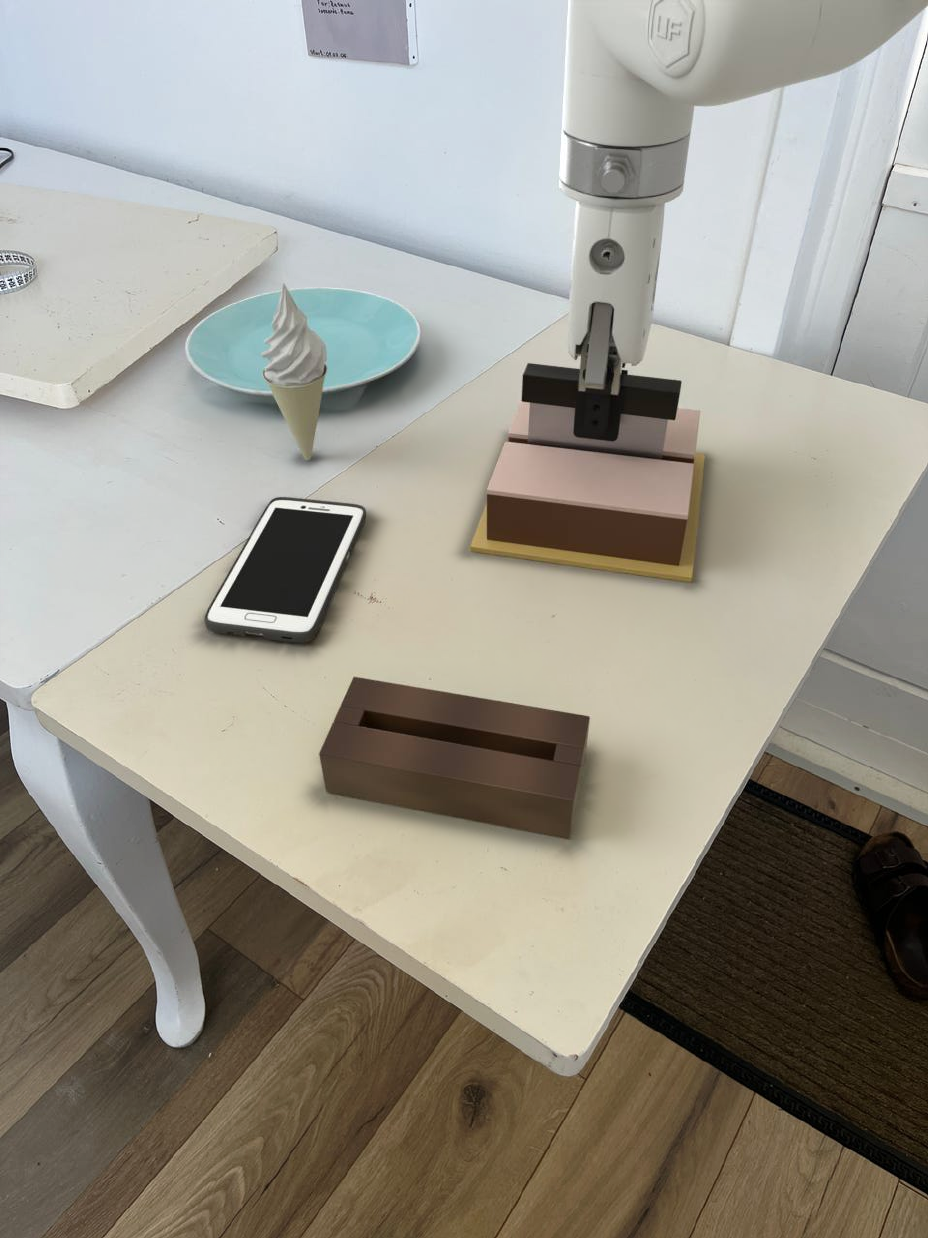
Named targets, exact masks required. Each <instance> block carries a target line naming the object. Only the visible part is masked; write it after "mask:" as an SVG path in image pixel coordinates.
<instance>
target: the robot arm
mask: <svg viewBox="0 0 928 1238" xmlns="http://www.w3.org/2000/svg"><path fill="white" fill-rule="evenodd" d="M927 7H928V0H568V2H567V22H566V39H565V40H566V42H565V60H564V79H563V80H564V82H563V96H562V97H563V98H562V99H563V100H562V116H561V117H562V119H561V139H560V140H561V142H560V143H561V144H560V161H559V162H560V163H559V175H558V176H559V179H558V188H559V189H560V191H561V192H562V194H564V195H565V196H567V197H568V198H570V199H571V200H574V201H575V213H574V223H573V225H574V227H573V236H572V237H573V238H572V252H571V267H570V283H569V299H568V300H569V301H568V321H567V322H568V324H567V353H568V354H569V356H570V357H571V358H572V359H573V360H575V361H577V360H578V358H579V357H580V362H579V363H580V364H579V369H580V375H579V384H577V389H576V402H575V416H574V430H573V434H574V435H575V436H576V437H578V438H586V439H595V440H603V441H616V440H617V438H618V434H619V426H620V417H621V408H622V399H623V390H624V389H622V388H620V381H621V374H628V373H629V370H628V369H626V367H627V364H630V365H631V367H636V366H637V365H639V364H640V363H641V362H642V361H643V359H644V358H645V357H644V356H645V354H646V350H647V345H648V340H649V336H650V333H651V332H650V331H651V326H652V322H653V316H654V310H655V300H656V289H657V282H658V274H659V268H660V267H659V266H660V259H661V249H662V241H663V234H664V233H663V231H664V224H665V223H664V220H665V210H666V209H665V208H666V203H670V202H673V200H675V199H676V198H679V197H680V195H681V194H682V193H683V192H684V187H685V177H686V169H687V163H688V154H689V148H690V141H691V133H692V127H693V121H694V111H695V107H716V106H722V105H727V104H730V103H731V104H732V103H734V102H739V101H743V100H745V99H749V98H752V97H756V96H760V95H763V94H768V93H769V92H772V91H774V90H776V89H777V90H778V89H781V88H785V87H789V86H792V85H795V84H799V83H803V82H808V81H811V80H815V79H819V78H823V77H827V76H830V75H833V74H836V73H839V72H841V71H843V70H845V69H847V68H849V67H852V66H853V65H856V64H857V63H858V62H861V61H862V60H863V59H865V58H866V57H869V55H871V54H873V53H874V52H875V51H876V50H878V49H880V48H881V47H882V46H883V45H885V43H886V42H888V41H890V39H892V38H893V37H894V36H895V35H896V34H898V33H899V32H900V31H901V30H902V29H904V27H906V26H907V25H908V24H910V22H911V21H912V20H914V19H915V18H916V17H917V16H918V15H919V14H920V13H922V12H923V11H924V10H925V9H926V8H927ZM628 375H629V374H628Z"/></svg>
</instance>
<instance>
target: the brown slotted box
mask: <svg viewBox="0 0 928 1238" xmlns="http://www.w3.org/2000/svg"><path fill="white" fill-rule="evenodd" d="M590 721H591V717H590V716H589V715H586V714H585V715H584V714H580V713H579V714H578V713H572V712H566V711H561V710H555V709H549V708H543V707H537V706H531V705H525V704H519V703H514V702H509V701H508V702H507V701H502V700H495V699H490V698H485V697H479V696H472V695H465V694H462V693H461V694H460V693H454V692H448V691H443V690H436V689H430V688H425V687H420V686H419V687H418V686H413V685H407V684H400V683H395V682H389V681H383V680H377V679H371V678H365V677H359V676H353V677H352V679H351V682H350V684H349V686H348V687H347V690H346V693H345V695H344V697H343V699H342V702H341V704H340V706H339V708H338V710H337V712H336V714H335V717H334V719H333V722H332V723H331V726H330V728H329V730H328V732H327V734H326V737H325V739H324V742H323V744H322V746H321V748H320V750H319V752H318V756H319V761H320V768H321V773H322V777H323V783H324V788H325V792H326V794H327V793H328V794H333V795H337V796H343V797H348V798H353V799H359V800H363V801H364V800H365V801H369V802H375V803H380V804H384V805H385V804H386V805H390V806H395V807H399V808H405V809H411V810H416V811H421V812H426V813H432V814H437V815H441V816H447V817H452V818H457V819H462V820H467V821H473V822H477V823H483V824H487V825H488V824H489V825H494V826H497V827H498V826H499V827H503V828H504V827H505V828H510V829H514V830H518V831H519V830H520V831H524V832H529V833H535V834H540V835H545V836H551V837H556V838H559V839H560V838H561V839H566V840H570V839H571V836H572V830H573V825H574V820H575V814H576V810H577V804H578V800H579V799H578V798H579V793H580V788H581V782H582V776H583V772H584V766H585V761H586V757H587V747H588V739H589V730H590V723H591V722H590Z"/></svg>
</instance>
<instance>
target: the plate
mask: <svg viewBox="0 0 928 1238" xmlns="http://www.w3.org/2000/svg"><path fill="white" fill-rule="evenodd" d="M287 289H288V288H287ZM288 291H289V293H290V295H291V297H292V298H293V300H294V302H295V304H296V305H297V307H298V308H299V309H300V310H301V311H302V312H303V313H304V314H305V315H306V316H307V325H308V327H309V328H310V329H311V330H313V331H315V332H316V333H317V335H318V336H319V337H320V338H321V339H322V341H323V342H324V343H325V347H326V353H327V356H326V357H327V360H326V361H325V364H326V365H327V369H328V370H327V373H326V375H325V379H324V384H323V390H322V396H328V395H333V394H336V393H340V392H343V391H347V390H349V389H352V388H355V387H357V386H362V385H364V384H368V383H370V382H374V381H376V380H379V379H381V378H383V377H385V376H387V375H389V374H391V373H393V372H395V371H396V370H398V369H399V368H401V367H402V366H403V365H405V364H406V363H407V362H409V360H410V359H411V358H412V357H413V356H414V354H415V353H416V351H417V350H418V348H419V345H420V343H421V340H422V326H421V324H420V321H419V320H418V318H417V316H416V315H415V314H414V313H413V312H412V311H411V310H409V309H408V308H407V307H406V306H404V305H402V304H401V303H399V302H397V301H395V300H392V299H391V298H388V297H386V296H383V295H379V294H375V293H371V292H368V291H363V290H357V289H352V288H351V289H350V288H342V287H298V288H289V289H288ZM281 292H282V289H281V290H276V291H270V292H265V293H261V294H258V295H254V296H249V297H247V298H244V299H240V300H238V301H236V302H233V303H230V304H229V305H226V306H224V307H223V308H222V307H221V308H219V309H218V310H216V311H214V312H213V313H212V312H211V314H209V315H208V316H207V317H205V318H203V319H202V320H200V321H199V323H197V325H195V326H194V328H192V330H191V331H190V332H189V334H188V336H187V338H186V341H185V345H184V352H185V356H186V359H187V361H188V363H189V364H190V365H191V367H192V368H193V370H195V371H196V372H197V373H198V374H199V375H200V376H201V377H203V378H204V379H206V380H208V381H209V382H211V383H212V384H215V385H217V386H219V387H222V388H224V389H227V390H230V391H234V392H238V393H242V394H247V395H254V396H262V397H263V396H265V397H273V398H274V396H273V393H272V391H271V389H270V387H269V385H268V383H267V382H266V381H265V380H264V378H263V376H262V372H263V370H264V367H266V366H267V365H268V363H269V362H270V360H268V358H263V357H262V355H261V353H262V352H264V351H267V350H269V349H270V345H268V344H266V343H264V340H266V339H267V338H269V337H270V336H271V335H272V334H273V333H274V330H273V326H272V322H273V320H274V318H273V317H274V315H275V313H276V310H277V307H278V303H279V299H280V296H281Z"/></svg>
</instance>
